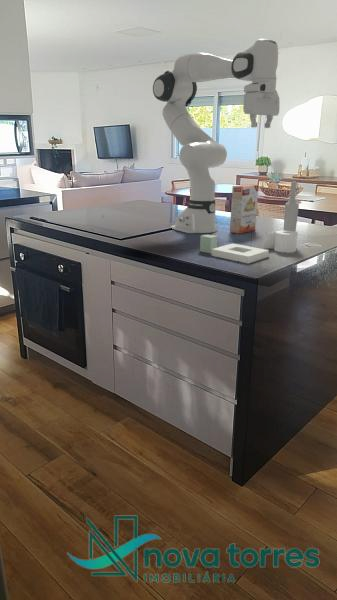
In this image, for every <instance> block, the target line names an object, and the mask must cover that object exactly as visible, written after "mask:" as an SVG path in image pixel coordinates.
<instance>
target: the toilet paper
mask: <svg viewBox="0 0 337 600" xmlns="http://www.w3.org/2000/svg"><path fill="white" fill-rule="evenodd" d="M298 235H299V234H298V232H297V231H296V232H295V231H286V230H284V229H282V230H276V231H271V232H268V233H266V234H265V239H264V243H263V248H262V249H265V250H268V249H273V250H274V251H275V252H277V253H278V252H279V253H284V252H286V253H290V254H291V253H295V252H297V245H298V244H297V243H298ZM286 253H285V254H286Z"/></svg>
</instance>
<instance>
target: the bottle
mask: <svg viewBox="0 0 337 600" xmlns="http://www.w3.org/2000/svg"><path fill="white" fill-rule="evenodd" d="M290 182H291V185H290V194H289V199H288V201H287V202H285V205H284V216H283V217H284V219H283V230H286V231H295V232H297V223H298V215H299V208H300V207H299V206H300V204H299V202H297V199H296V197H297V194H296V193H297V187H298V186H297V185H298V181H290Z"/></svg>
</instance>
